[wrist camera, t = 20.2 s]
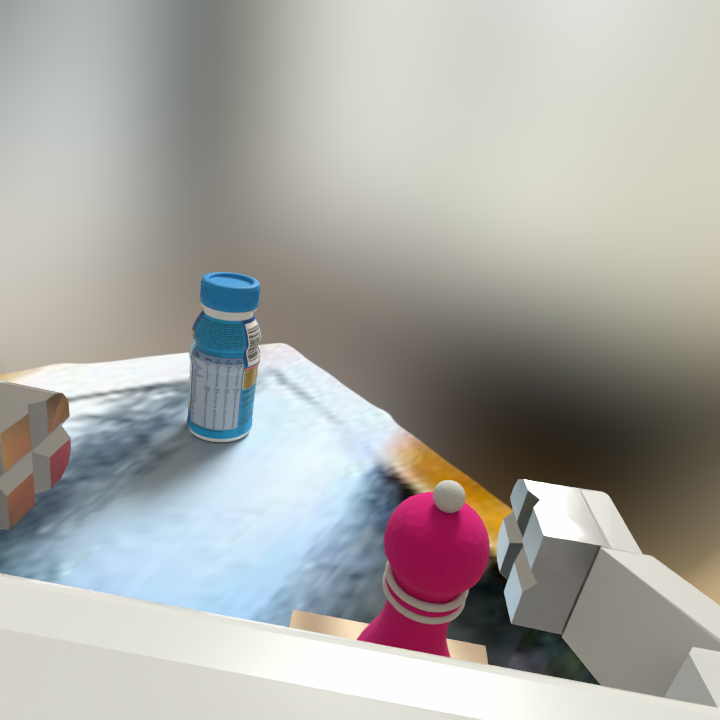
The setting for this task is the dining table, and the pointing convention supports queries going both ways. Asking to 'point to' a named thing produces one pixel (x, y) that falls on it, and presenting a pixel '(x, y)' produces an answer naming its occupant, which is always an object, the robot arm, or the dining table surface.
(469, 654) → the oak board
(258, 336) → the beverage bottle
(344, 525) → the dining table surface
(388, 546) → the pepper mill
